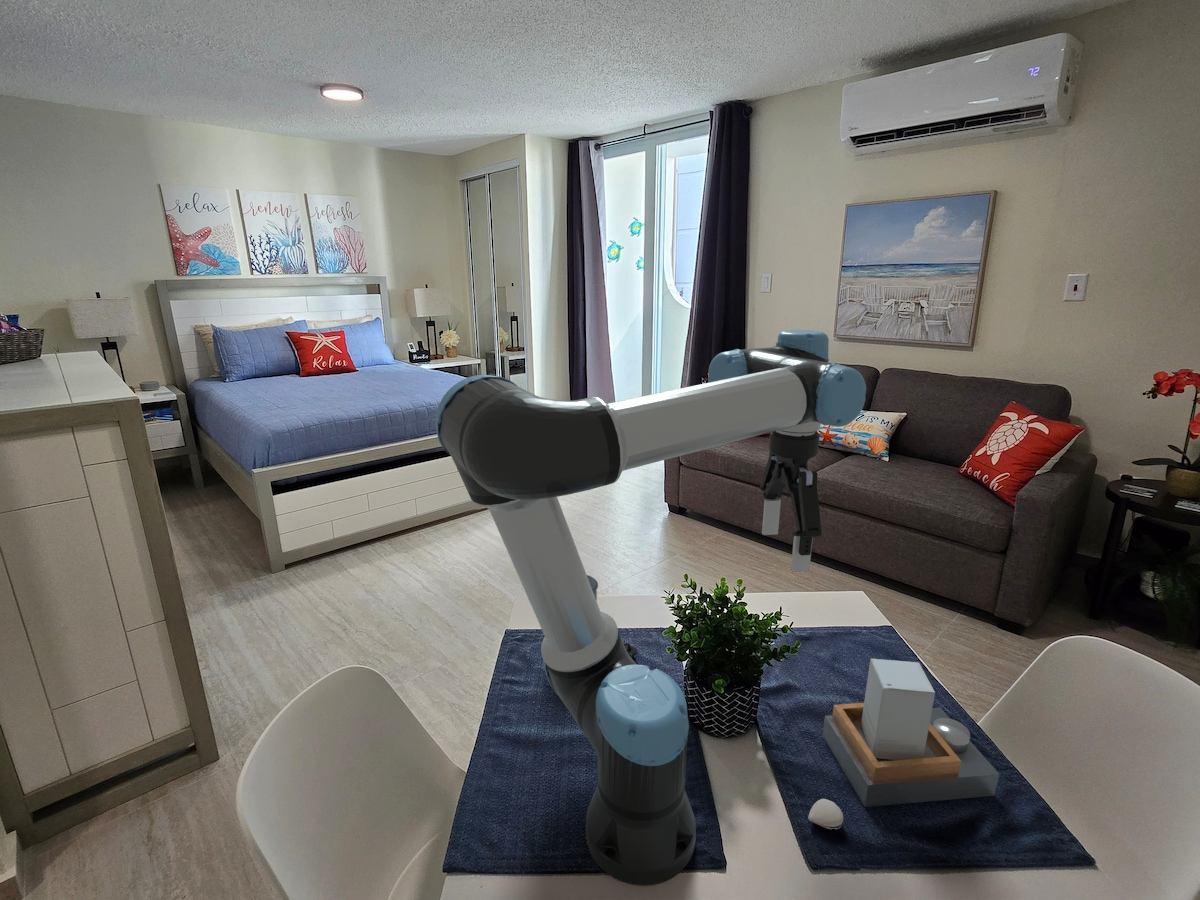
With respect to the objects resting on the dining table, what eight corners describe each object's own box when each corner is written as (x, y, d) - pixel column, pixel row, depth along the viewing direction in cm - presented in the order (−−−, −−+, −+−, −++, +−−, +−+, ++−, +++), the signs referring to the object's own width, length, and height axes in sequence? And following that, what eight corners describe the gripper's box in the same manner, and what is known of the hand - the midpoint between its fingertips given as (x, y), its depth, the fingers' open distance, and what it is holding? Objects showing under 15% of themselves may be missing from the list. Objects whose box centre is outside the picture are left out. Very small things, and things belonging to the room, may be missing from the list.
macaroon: (848, 831, 86) (850, 817, 85) (816, 839, 84) (818, 825, 84) (829, 805, 90) (831, 792, 89) (799, 813, 88) (800, 799, 88)
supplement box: (923, 764, 91) (937, 693, 88) (871, 758, 93) (882, 688, 89) (908, 728, 98) (920, 661, 94) (859, 723, 99) (869, 656, 96)
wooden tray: (864, 807, 89) (870, 771, 87) (822, 735, 102) (826, 703, 100) (994, 795, 91) (1002, 760, 89) (936, 726, 104) (942, 694, 102)
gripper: (855, 452, 86) (839, 587, 92) (788, 410, 109) (778, 520, 116) (803, 454, 85) (790, 590, 91) (747, 411, 109) (739, 521, 115)
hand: (783, 551), depth 104 cm, fingers open, 13 cm apart
